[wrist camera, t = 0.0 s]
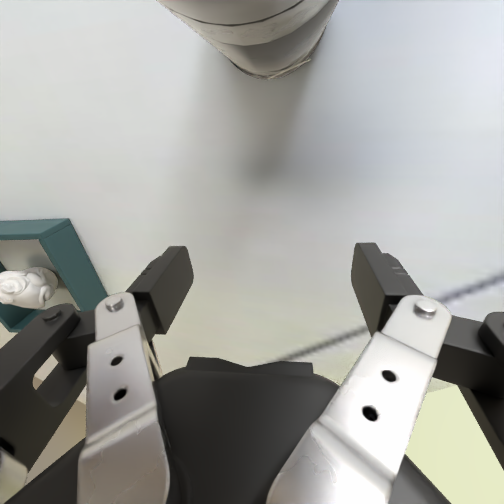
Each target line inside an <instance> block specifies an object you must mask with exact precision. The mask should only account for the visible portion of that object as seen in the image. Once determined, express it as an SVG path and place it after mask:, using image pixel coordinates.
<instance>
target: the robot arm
mask: <svg viewBox="0 0 504 504" xmlns="http://www.w3.org/2000/svg"><path fill="white" fill-rule="evenodd" d="M156 1H158V2H159V3H160V4H161V5H162V6H164V7H165V8H166V9H167V10H169V11H170V12H171V13H172V14H174V15H175V16H176V17H177V18H179V19H180V20H181V21H183V22H184V23H185V24H186V25H188V26H189V27H190V28H191V29H193V30H194V31H195V32H196V33H198V34H199V35H200V36H201V37H203V38H204V39H205V40H206V41H207V42H209V43H210V44H211V45H212V46H214V47H215V48H216V49H217V50H219V51H220V52H221V53H222V54H223V55H225V56H226V57H227V58H228V59H229V60H230V61H231V62H232V63H233V64H234V65H235V66H236V67H237V68H239V69H240V70H241V71H243V72H244V73H246V74H248V75H250V76H252V77H255V78H259V79H276V78H280V77H283V76H286V75H288V74H290V73H292V72H293V71H295V70H296V69H298V68H299V67H300V66H301V65H302V64H304V63H306V62H308V61H310V60H311V59H309V60H307V59H308V58H309V57H310V55H311V54H312V53H313V51H314V50H315V48H316V47H317V45H318V43H319V41H320V39H321V37H322V35H323V33H324V30H325V28H326V25H327V23H328V21H329V19H330V17H331V15H332V13H333V11H334V9H335V7H336V5H337V3H338V1H339V0H156ZM306 60H307V61H306ZM193 278H194V275H193V269H192V265H191V261H190V258H189V254H188V250H187V248H186V247H185V246H170V247H168V249H167V250H166V251H165V252H164V253H163V255H162V256H159V257H158V258H156V259H155V260H153V261H152V262H150V264H149V265H148V266H147V267H146V268H145V270H144V271H143V272H142V273H141V275H139V276H138V278H137V279H136V280H135V281H134V282H133V283H132V285H131V286H130V287H129V288H128V289H127V290H126V292H121V293H116V294H113V295H111V296H109V297H107V298H105V299H104V300H102V301H101V302H100V303H99V304H98V305H97V306H96V308H95V309H94V310H89V311H84V312H80V313H78V312H77V310H76V309H75V307H74V306H73V305H72V304H67V303H66V304H59V305H56V306H53V307H51V308H49V309H47V310H45V311H43V312H42V313H40V314H39V315H38V316H36V317H35V318H34V319H33V320H32V321H31V322H30V323H29V324H28V325H26V326H25V327H24V328H23V329H22V330H21V331H20V332H19V333H18V334H16V335H15V336H14V337H13V338H12V339H11V340H10V341H9V342H8V343H7V344H5V345H4V346H3V347H2V348H1V349H0V504H451V503H450V502H449V501H448V500H447V499H446V497H445V496H444V495H443V494H442V493H441V492H440V491H439V490H438V489H437V488H436V487H435V486H434V485H433V484H432V482H431V481H430V480H429V479H428V478H427V477H426V476H425V475H424V474H423V473H422V472H421V470H420V469H419V468H418V467H417V466H416V465H415V464H414V463H413V462H412V461H411V460H410V459H409V458H408V456H407V455H406V454H405V450H406V448H407V445H408V442H409V439H410V437H411V433H412V431H413V428H414V425H415V423H416V420H417V417H418V414H419V411H420V409H421V406H422V403H423V401H424V398H425V395H426V392H427V389H428V387H429V384H430V381H431V378H432V377H434V378H437V379H440V380H443V381H446V382H450V383H453V384H456V385H457V386H458V387H459V389H460V391H461V393H462V394H463V396H464V398H465V400H466V402H467V404H468V405H469V408H470V409H471V411H472V413H473V415H474V417H475V419H476V420H477V422H478V424H479V426H480V428H481V430H482V431H483V433H484V435H485V437H486V439H487V441H488V442H489V444H490V446H491V448H492V450H493V451H494V453H495V455H496V457H497V459H498V461H499V463H500V464H501V466H502V468H503V470H504V312H493V313H490V314H488V315H487V316H486V318H485V320H484V321H483V322H479V321H475V320H470V319H466V318H461V317H457V316H453V315H451V312H450V311H449V309H448V308H447V307H446V306H445V305H443V304H442V303H440V302H439V301H437V300H435V299H432V298H430V297H427V296H424V295H423V294H422V293H421V291H420V290H419V288H418V287H417V286H416V284H415V283H414V282H413V280H412V279H411V277H410V276H409V275H408V273H407V272H406V270H405V269H403V266H402V265H401V264H400V262H399V261H398V260H397V259H396V258H394V257H393V256H391V255H390V254H388V253H381V251H380V249H379V248H378V246H377V245H376V243H356V245H355V248H354V255H353V262H352V270H351V282H352V286H353V288H354V291H355V294H356V297H357V299H358V302H359V305H360V307H361V310H362V313H363V316H364V318H365V321H366V324H367V326H368V329H369V332H370V335H371V337H372V338H371V339H370V341H369V342H368V344H367V346H366V347H365V349H364V350H363V352H362V353H361V355H360V356H359V358H358V359H357V361H356V362H355V364H354V366H353V367H352V369H351V370H350V372H349V373H348V375H347V376H346V378H345V379H344V381H343V383H342V384H341V386H339V385H337V384H336V383H334V382H333V381H331V380H329V379H327V378H325V377H323V376H320V375H318V374H314V373H313V365H312V363H307V362H286V361H279V362H274V363H268V364H263V365H258V366H252V367H245V366H242V365H239V364H235V363H232V362H229V361H226V360H223V359H219V358H206V357H190V358H189V360H188V363H187V365H186V367H183V368H180V369H176V370H174V371H172V372H169V373H167V374H165V375H164V376H163V373H162V369H161V366H160V362H159V359H158V355H157V352H156V348H155V345H154V342H153V340H152V338H153V337H154V335H155V334H165V335H166V333H167V331H168V329H169V327H170V325H171V324H172V322H173V320H174V318H175V316H176V314H177V312H178V310H179V308H180V306H181V304H182V303H183V301H184V299H185V297H186V295H187V293H188V291H189V289H190V287H191V285H192V283H193ZM51 354H52V355H53V356H54V357H55V358H56V360H57V361H58V362H59V363H58V364H57V365H56V367H55V368H54V369H53V370H52V372H51V373H50V374H49V375H48V376H47V378H46V379H45V380H44V381H43V382H42V384H41V385H40V386H39V387H38V389H37V390H35V389H34V387H33V383H32V382H33V377H34V375H35V373H36V372H37V370H38V369H39V368H40V367H41V366H42V365H43V364H44V362H45V361H46V360H47V359H48V358H49V357H50V356H51ZM86 384H87V394H86V437H85V438H84V439H82V440H81V441H80V442H79V443H78V444H76V445H75V446H74V447H73V448H71V449H70V450H69V451H68V452H66V453H65V454H64V455H63V456H61V457H60V458H59V459H58V460H56V461H55V462H54V463H53V464H52V465H50V466H49V467H48V468H47V469H45V470H44V471H43V472H42V473H40V474H39V475H38V476H37V477H36V478H34V479H33V480H32V481H31V482H30V483H28V484H27V485H26V486H25V483H26V479H27V474H28V473H29V471H30V470H31V468H32V467H33V465H34V463H35V462H36V460H37V459H38V457H39V456H40V454H41V453H42V451H43V450H44V448H45V447H46V445H47V443H48V442H49V441H50V439H51V437H52V436H53V434H54V433H55V431H56V430H57V428H58V427H59V425H60V424H61V422H62V421H63V419H64V417H65V416H66V415H67V413H68V412H69V410H70V409H71V407H72V406H73V404H74V402H75V401H76V399H77V398H78V396H79V395H80V393H81V392H82V390H83V389H84V387H85V386H86Z"/></svg>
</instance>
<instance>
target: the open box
mask: <svg viewBox="0 0 504 504" xmlns="http://www.w3.org/2000/svg"><path fill="white" fill-rule="evenodd" d="M30 239H39V242H40V243H41V245H42V247H43V248H44V250H45V252H46V253H47V255H48V257H49V258H50V260H51V262H52V263H53V265H54V267H55V268H56V270H57V272H58V273H59V275H60V277H61V278H62V280H63V282H64V283H65V285H66V287H67V288H68V290H69V292H70V293H71V295H72V297H73V298H74V300H75V302H76V303H77V305H78V307H79V308H80V310H81V311H77V312H78V313H80V312H84V311H89V310H94V309H95V308H96V306H97V305H98V304H99V303H100V302H101V301H102V300H104V299H105V298H107V297H108V296H107V294H106V292H105V290H104V288H103V286H102V284H101V282H100V280H99V278H98V276H97V274H96V272H95V270H94V268H93V266H92V264H91V262H90V260H89V258H88V256H87V254H86V252H85V250H84V248H83V246H82V244H81V242H80V240H79V238H78V236H77V234H76V232H75V230H74V228H73V226H72V224H71V222H70V220H69V219H46V220H22V221H0V240H30ZM5 271H6V269H5V268H4V267H3V265H2V264H1V262H0V273H2V272H5ZM43 311H45V310H34V309H33V308H24V307H20V306H15V305H12V304H2V302H0V322H1V323H2V324H3V325H4V327H5V328H6V329H7V330H8V331H9V332H17V333H19V332H20V331H21V330H22V329H23V328H24V327H25V326H26V325H28V324H29V323H30V322H31V321H32V320H33V319H34V318H35V317H36V316H38V315H39V314H40V313H42V312H43Z"/></svg>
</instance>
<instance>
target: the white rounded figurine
mask: <svg viewBox="0 0 504 504" xmlns="http://www.w3.org/2000/svg"><path fill="white" fill-rule="evenodd" d="M57 284H58V281H57V277H56V275H55V274H54V273H53V272H52V271H50V270H49V269H46V268H43V267H31V268H27V269H25V270H23V271H5V272H2V273H0V302H2V304H12V305H15V306H20V307H24V308H33V309H34V308H42V307H44V306H45V301H47V300H49V299H50V298H51V297H52V296H53V294H54V293H55V290H56V288H57Z"/></svg>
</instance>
